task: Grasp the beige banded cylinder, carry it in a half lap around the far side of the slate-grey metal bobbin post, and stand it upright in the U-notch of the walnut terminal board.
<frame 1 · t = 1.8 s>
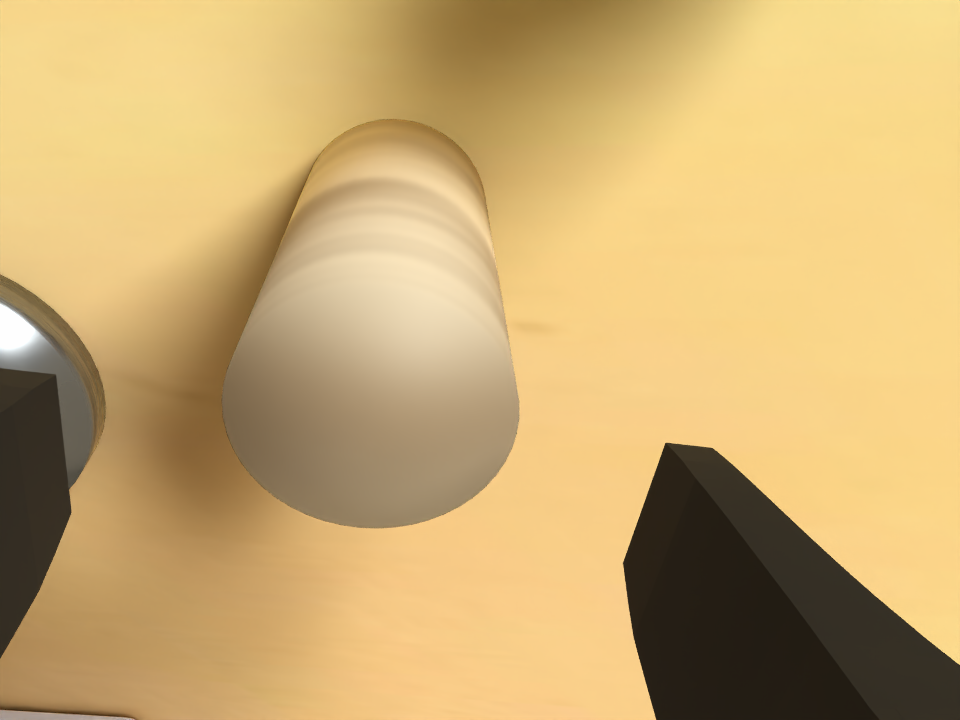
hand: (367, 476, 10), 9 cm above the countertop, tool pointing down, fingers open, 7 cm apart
beige banded cylinder: (395, 210, 18), on the countertop
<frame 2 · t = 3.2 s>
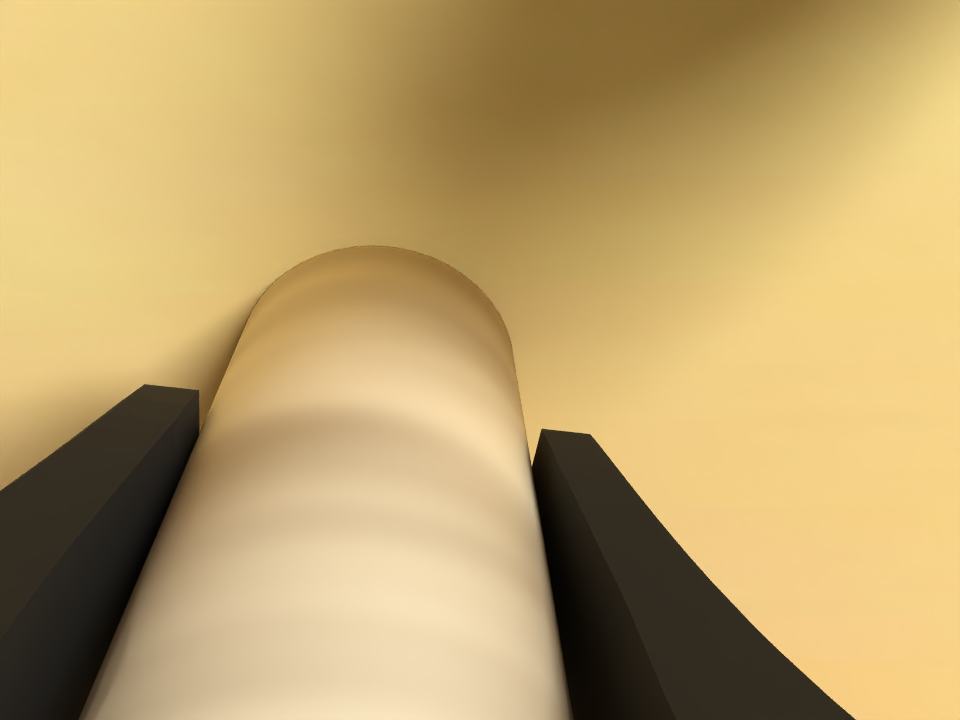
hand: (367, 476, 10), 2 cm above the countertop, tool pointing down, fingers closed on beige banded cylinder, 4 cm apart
beige banded cylinder: (378, 372, 12), on the countertop, touching gripper
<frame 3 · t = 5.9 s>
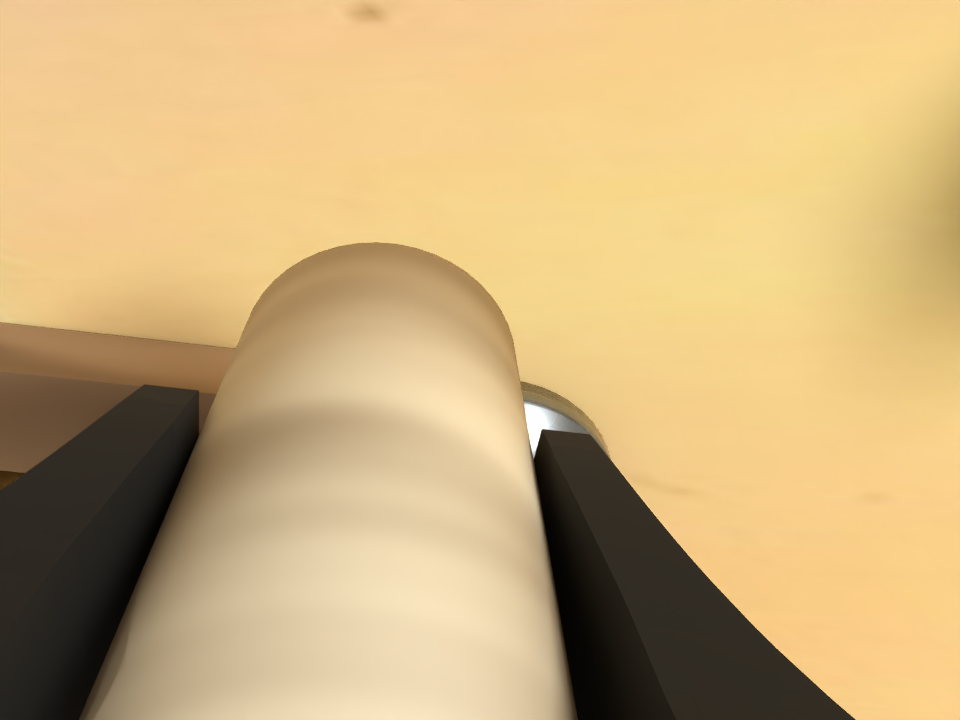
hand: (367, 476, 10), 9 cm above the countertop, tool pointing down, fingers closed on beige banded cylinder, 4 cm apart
bobbin post: (484, 486, 22), on the countertop
notched board: (31, 502, 22), on the countertop
beige banded cylinder: (380, 369, 12), point 7 cm above the countertop, touching gripper
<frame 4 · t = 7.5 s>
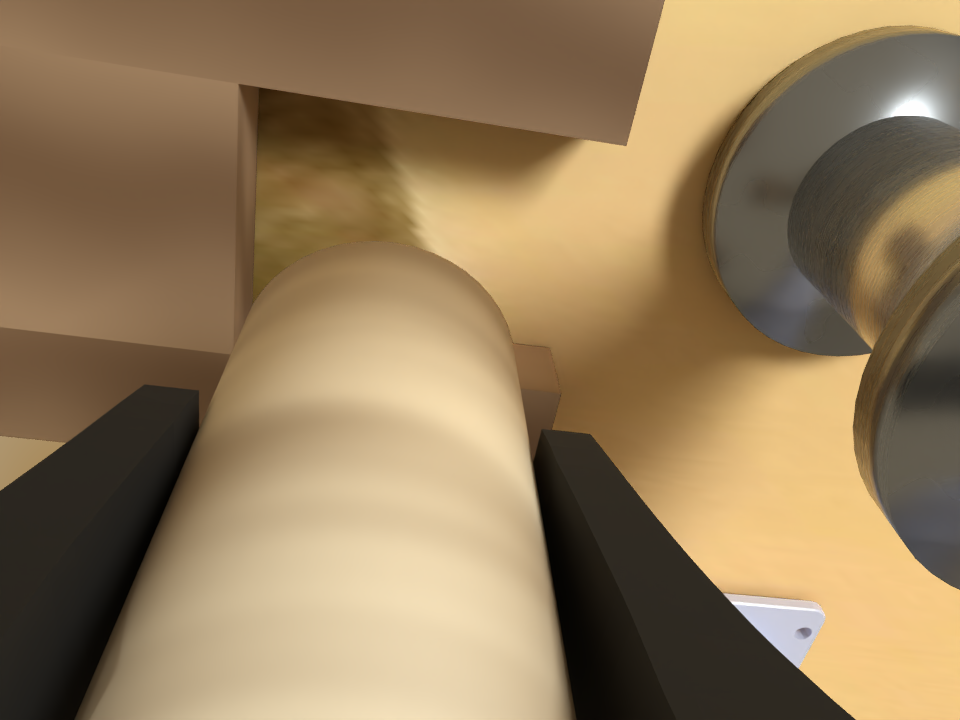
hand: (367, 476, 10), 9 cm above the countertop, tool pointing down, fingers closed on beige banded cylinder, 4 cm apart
bobbin post: (861, 196, 18), on the countertop
notched board: (303, 202, 17), on the countertop
beige banded cylinder: (378, 368, 12), point 6 cm above the countertop, touching gripper
when the fingers open (4 cm above the countertop, at t = 8.7 s): beige banded cylinder drops 2 cm, resting in notched board.
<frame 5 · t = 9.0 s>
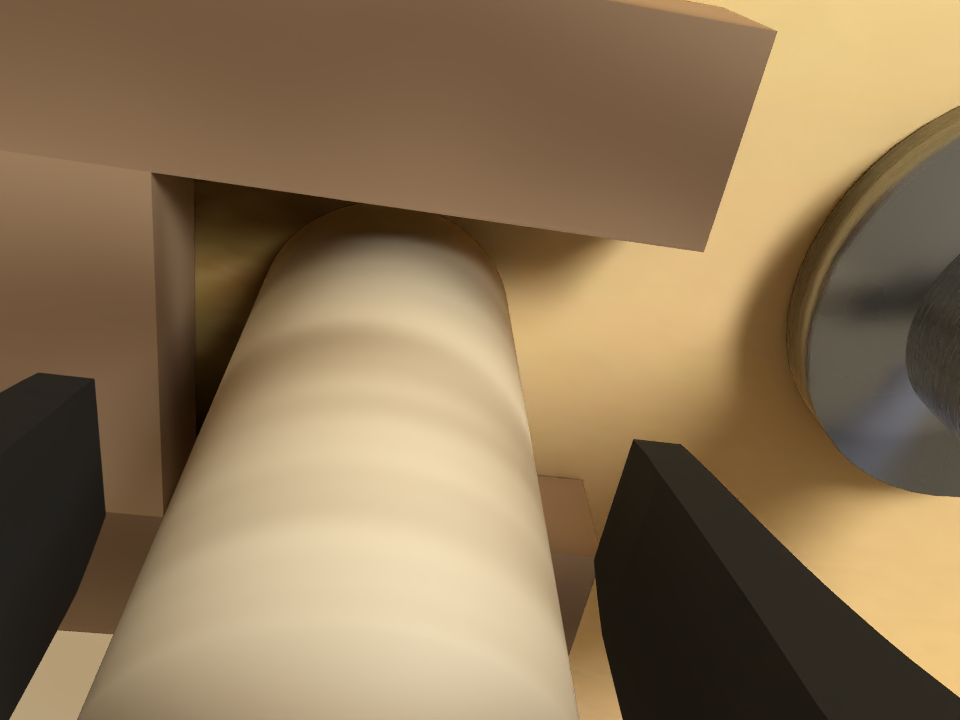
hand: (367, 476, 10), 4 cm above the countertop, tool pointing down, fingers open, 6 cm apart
notched board: (259, 308, 13), on the countertop
beige banded cylinder: (385, 319, 13), resting in notched board
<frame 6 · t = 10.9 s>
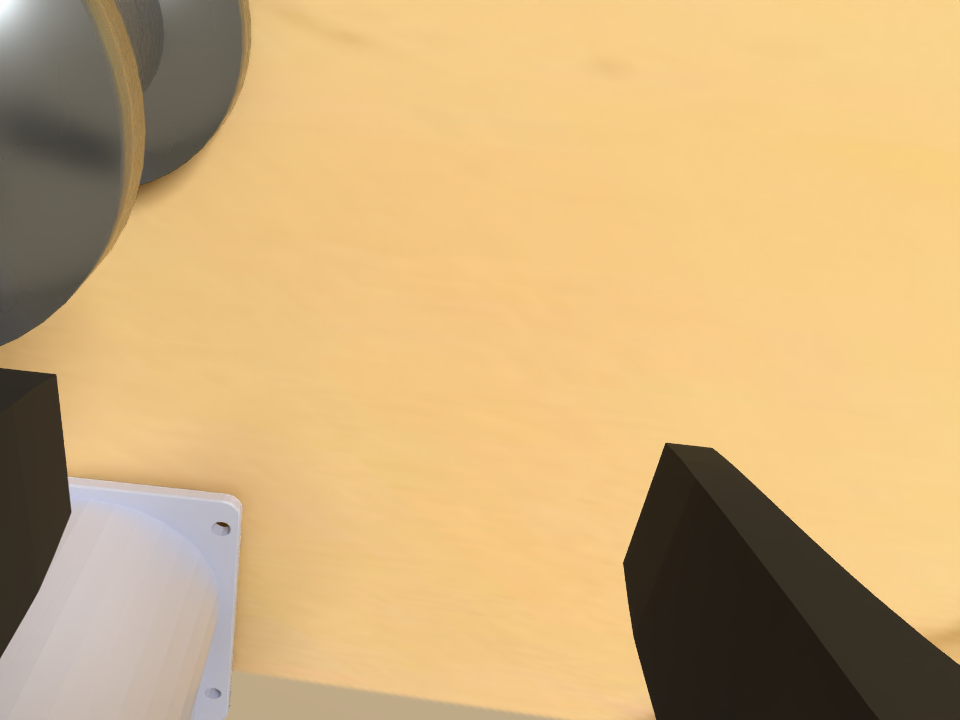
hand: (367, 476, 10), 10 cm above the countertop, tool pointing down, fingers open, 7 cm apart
bobbin post: (75, 9, 16), on the countertop
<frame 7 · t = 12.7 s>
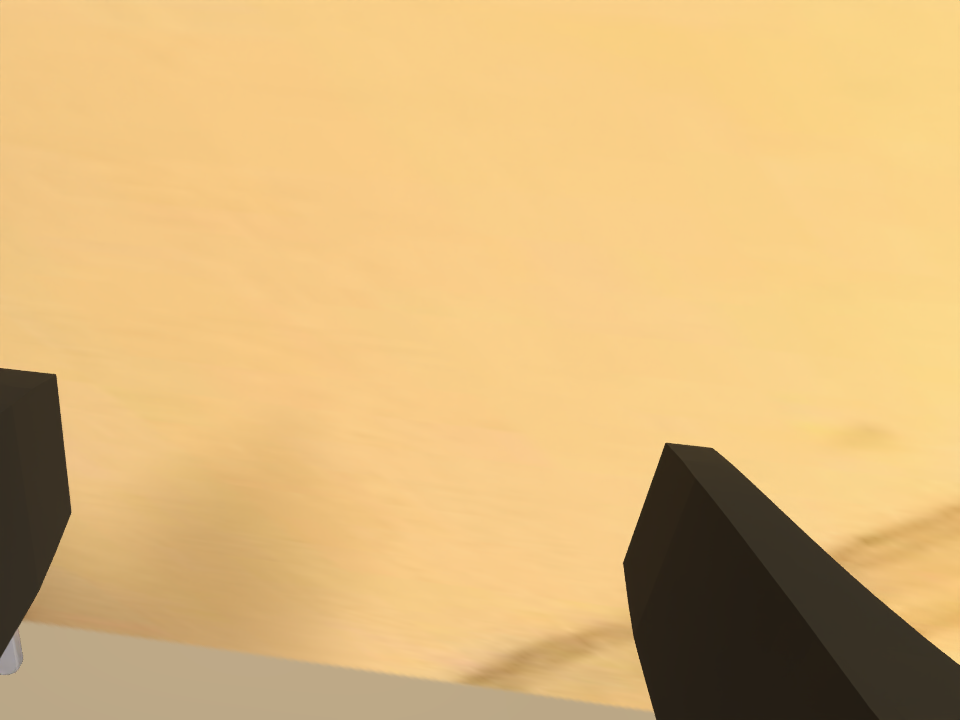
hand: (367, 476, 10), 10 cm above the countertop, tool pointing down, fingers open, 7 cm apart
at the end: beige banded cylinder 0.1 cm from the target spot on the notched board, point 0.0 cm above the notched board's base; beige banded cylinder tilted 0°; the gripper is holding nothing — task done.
